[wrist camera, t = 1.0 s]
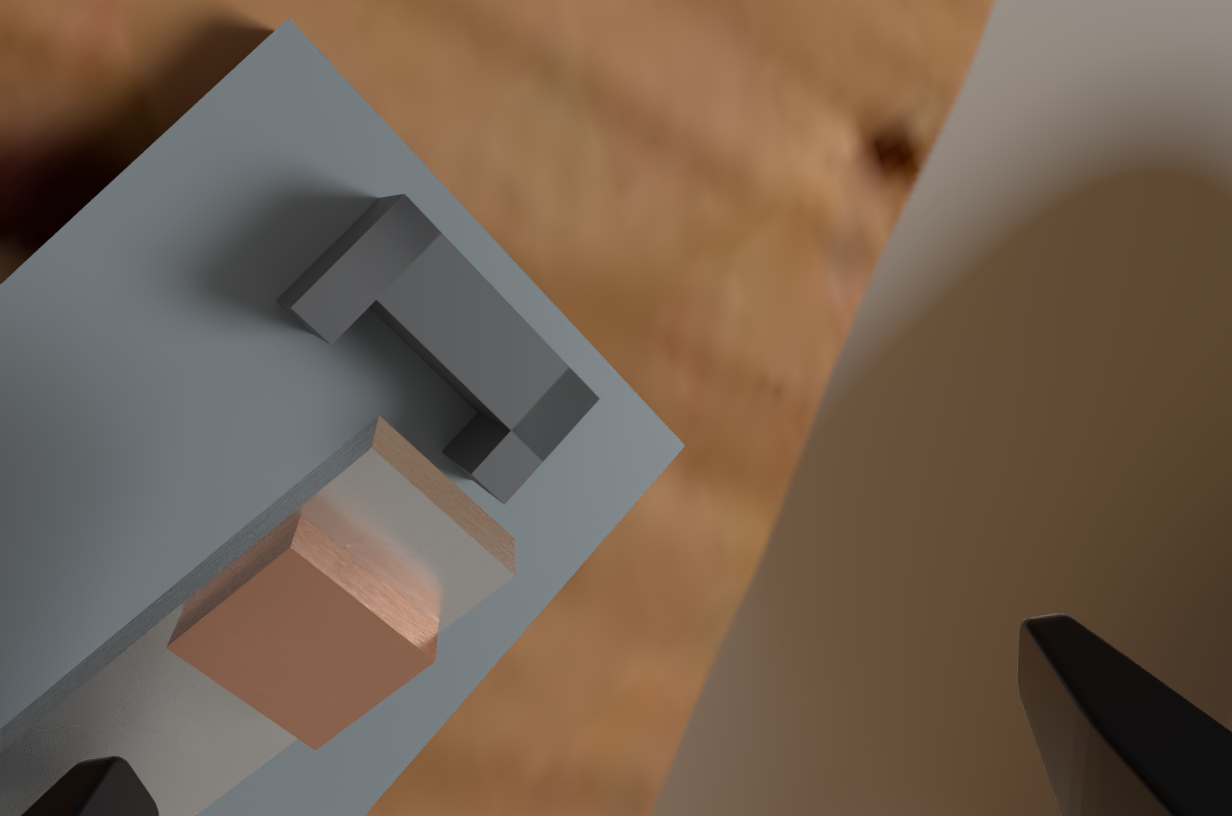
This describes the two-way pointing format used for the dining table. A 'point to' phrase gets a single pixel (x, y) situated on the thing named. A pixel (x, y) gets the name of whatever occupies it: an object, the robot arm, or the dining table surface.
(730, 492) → the dining table surface
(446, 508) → the light grey long bar
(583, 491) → the base plate
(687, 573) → the dining table surface
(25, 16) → the dining table surface
